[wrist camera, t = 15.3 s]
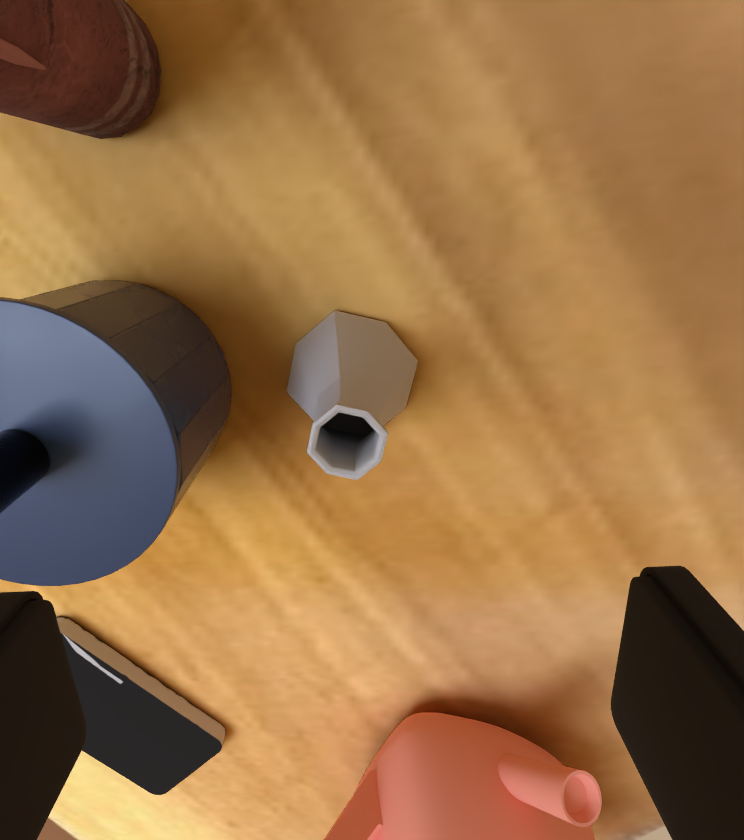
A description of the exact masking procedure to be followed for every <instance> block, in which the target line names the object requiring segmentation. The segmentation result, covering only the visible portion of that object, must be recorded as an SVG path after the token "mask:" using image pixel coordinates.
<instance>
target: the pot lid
mask: <svg viewBox="0 0 744 840" xmlns="http://www.w3.org/2000/svg"><path fill="white" fill-rule="evenodd" d="M180 480H181V457H180V449H179V442H178V438H177V435H176V431H175V427H174V424H173V421H172V419H171V416H170V414H169V412H168V409H167V407H166V405H165V403H164V401H163V399H162V398H161V396H160V394H159V392H158V391H157V389H156V387H155V386H154V384H153V383H152V382H151V380H150V379H149V378H148V376H147V375H146V374H145V372H144V371H143V370H142V369H141V368H140V366H139V365H138V364H137V363H136V362H135V361H134V360H133V359H132V358H131V357H130V356H129V355H128V354H127V353H126V352H125V351H124V350H123V349H121V348H120V347H119V346H118V345H117V344H116V343H114V342H113V341H112V340H111V339H110V338H108V337H107V336H105V335H104V334H102V333H101V332H99V331H98V330H96V329H95V328H93V327H92V326H90V325H88V324H86V323H84V322H83V321H81V320H79V319H77V318H75V317H73V316H71V315H69V314H66V313H64V312H61V311H59V310H56V309H53V308H51V307H48V306H45V305H41V304H37V303H33V302H29V301H25V300H18V299H11V298H3V297H0V579H2V580H6V581H11V582H16V583H21V584H29V585H38V586H62V585H70V584H79V583H83V582H87V581H91V580H95V579H98V578H101V577H103V576H106V575H109V574H111V573H113V572H115V571H117V570H119V569H121V568H123V567H125V566H126V565H128V564H129V563H131V562H132V561H133V560H135V559H136V558H138V557H139V556H140V555H141V554H142V553H143V552H144V551H145V550H146V549H147V548H148V547H149V546H150V545H151V544H152V543H153V542H154V541H155V539H156V538H157V537H158V535H159V534H160V533H161V531H162V530H163V528H164V527H165V525H166V523H167V521H168V519H169V517H170V515H171V513H172V511H173V508H174V505H175V502H176V499H177V496H178V491H179V485H180Z"/></svg>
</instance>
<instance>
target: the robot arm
mask: <svg viewBox="0 0 744 840" xmlns="http://www.w3.org/2000/svg"><path fill="white" fill-rule="evenodd" d="M611 711H612V716H613V719H614V723H615V725H616V727H617V729H618V731H619V733H620V735H621V737H622V739H623V741H624V743H625V745H626V747H627V749H628V751H629V754H630V756H631V758H632V760H633V762H634V764H635V766H636V768H637V770H638V772H639V774H640V776H641V778H642V780H643V782H644V784H645V786H646V788H647V790H648V792H649V794H650V796H651V798H652V800H653V802H654V804H655V806H656V808H657V810H658V812H659V814H660V816H661V818H662V820H663V822H664V824H665V826H666V828H667V830H668V832H669V834H670V836H671V838H672V840H744V631H743V630H742V629H741V628H740V626H739V625H738V624H737V623H736V622H735V621H734V620H733V619H732V618H731V617H730V615H729V614H728V613H727V612H726V611H725V610H724V609H723V608H722V607H721V606H720V604H719V603H718V602H717V601H716V600H715V599H714V598H713V597H712V596H711V595H710V593H709V592H708V591H707V590H706V589H705V588H704V587H703V586H702V585H701V584H700V582H699V581H698V580H697V579H696V578H695V577H694V576H693V575H692V574H691V573H690V571H689V570H687V569H686V568H685V567H682V566H664V567H646V568H644V569H643V570H642V572H641V574H640V577H634V578H633V579H632V580H631V583H630V588H629V594H628V600H627V606H626V612H625V619H624V625H623V631H622V637H621V643H620V649H619V655H618V661H617V667H616V673H615V679H614V686H613V692H612V698H611ZM85 738H86V721H85V718H84V714H83V710H82V707H81V703H80V700H79V696H78V693H77V689H76V686H75V682H74V679H73V675H72V671H71V668H70V664H69V661H68V657H67V654H66V650H65V647H64V643H63V640H62V636H61V632H60V629H59V625H58V622H57V618H56V615H55V611H54V608H53V605H52V603H51V602H50V601H47V600H43V598H42V596H41V595H40V594H39V593H38V592H35V591H27V592H2V593H0V840H37V838H38V836H39V834H40V832H41V830H42V828H43V826H44V824H45V822H46V820H47V818H48V816H49V814H50V812H51V810H52V808H53V806H54V804H55V802H56V800H57V798H58V796H59V794H60V792H61V790H62V788H63V786H64V784H65V782H66V780H67V778H68V776H69V774H70V772H71V770H72V768H73V766H74V764H75V762H76V760H77V758H78V756H79V754H80V752H81V750H82V748H83V746H84V742H85Z"/></svg>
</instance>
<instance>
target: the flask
mask: <svg viewBox="0 0 744 840" xmlns="http://www.w3.org/2000/svg"><path fill="white" fill-rule="evenodd" d="M417 364H418V360H417V359H416V358H415V357H414V355H413V354H412V353H411V352H410V351H409V349H408V348H407V347H406V346H405V345H404V343H403V342H402V341H401V340H400V339H399V337H398V336H397V335H396V334H395V333H394V331H393V330H392V329H391V328H390V327H389V325H388V324H387V323H386V322H383V321H379V320H374V319H370V318H366V317H361V316H357V315H353V314H348V313H344V312H340V311H335V310H334V311H333V312H332V313H331V314H329V315H328V316H327V317H326V318H325V319H324V320H323V321H321V322H320V323H319V324H318V325H317V326H316V327H314V328H313V329H312V330H311V331H310V332H309V333H308V334H306V335H305V336H304V337H303V338H302V339H301V340H299V341H298V342H297V343H296V344H295V349H294V354H293V360H292V365H291V370H290V376H289V381H288V386H287V393H288V394H289V395H290V396H291V398H292V399H293V400H294V401H295V402H296V403H297V404H298V405H299V406H300V407H301V408H302V409H303V410H304V411H305V412H306V413H307V414H308V416H309V417H310V418H311V419H312V420H313V423H312V428H311V433H310V438H309V443H308V447H307V453H308V454H309V455H310V456H311V457H312V458H313V460H314V461H315V462H316V463H317V464H318V465H319V466H320V467H321V468H322V469H323V470H324V471H325V472H326V473H327V474H331V475H336V476H341V477H346V478H351V479H355V480H358V479H359V478H360V477H362V476H363V475H364V474H366V473H367V472H368V471H369V470H371V469H372V468H373V467H375V466H376V465H377V464H379V463H380V462H381V459H382V455H383V451H384V447H385V443H386V439H387V436H388V431H387V430H386V429H385V428H384V427H383V426H384V425H385V424H386V423H387V422H389V421H390V420H391V419H392V418H394V417H395V416H396V415H398V414H399V413H400V412H401V411H403V410H404V409H405V408H406V405H407V401H408V397H409V394H410V390H411V386H412V382H413V379H414V375H415V371H416V367H417Z"/></svg>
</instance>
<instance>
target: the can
mask: <svg viewBox="0 0 744 840" xmlns="http://www.w3.org/2000/svg"><path fill="white" fill-rule="evenodd" d="M160 76H161V68H160V63H159V58H158V53H157V48H156V45H155V43H154V41H153V39H152V37H151V35H150V33H149V31H148V28H147V26H146V24H145V23H144V22H143V21H142V20H141V18H140V17H139V16H138V15H137V14H136V13H135V11H134V10H133V9H132V8H131V7H130V6H129V5H128V4H127V3H126V2H125V1H124V0H0V112H1V113H5V114H8V115H12V116H16V117H20V118H23V119H27V120H31V121H34V122H38V123H42V124H46V125H49V126H53V127H57V128H61V129H64V130H68V131H72V132H76V133H79V134H83V135H87V136H91V137H95V138H100V139H103V138H114V137H121V136H123V135H125V134H127V133H129V132H131V131H133V130H135V129H137V128H138V127H139V126H140V125H141V124H142V123H143V122H144V120H145V119H146V118H147V117H148V116H149V115H150V114H151V112H152V109H153V107H154V105H155V102H156V100H157V97H158V95H159V88H160Z"/></svg>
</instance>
